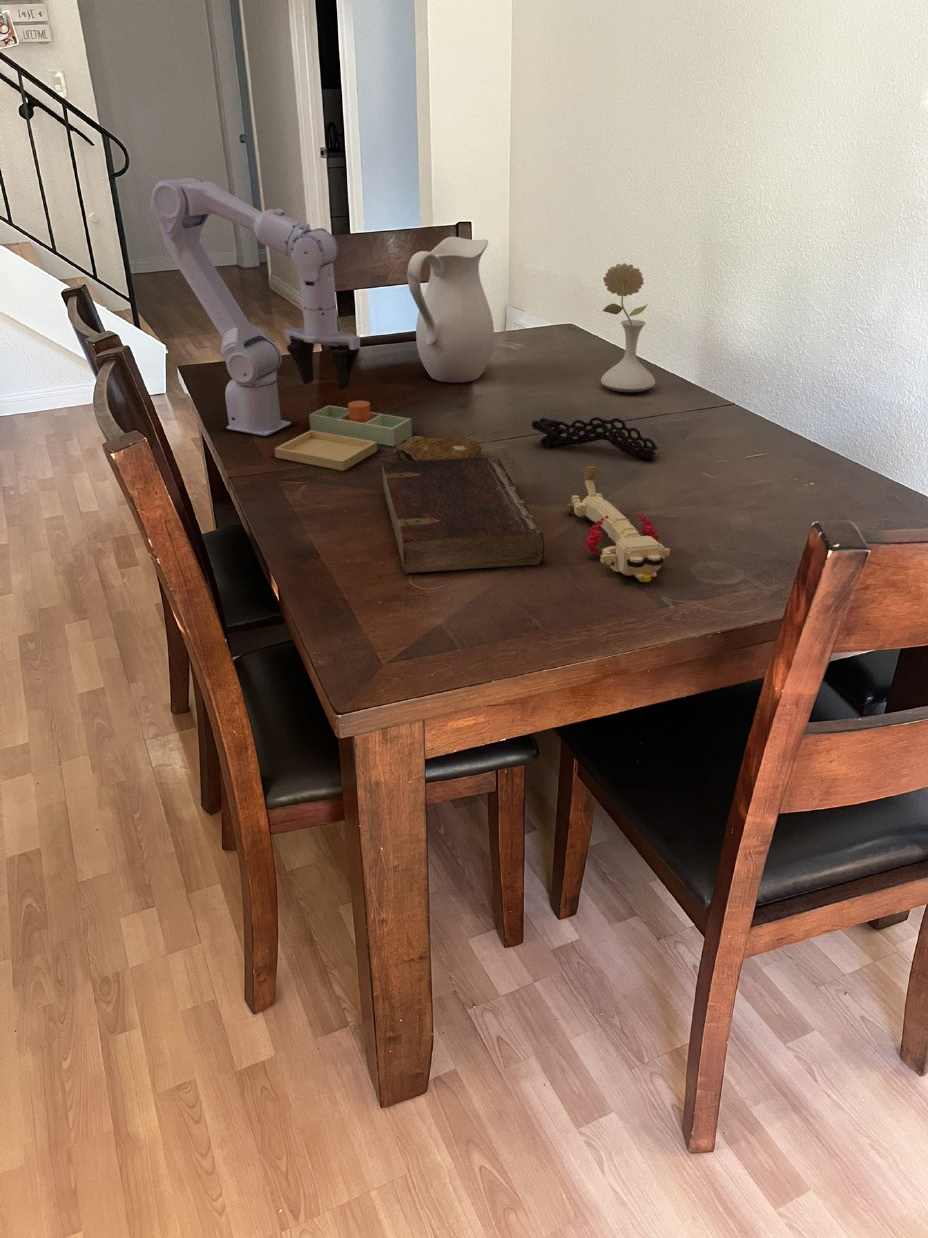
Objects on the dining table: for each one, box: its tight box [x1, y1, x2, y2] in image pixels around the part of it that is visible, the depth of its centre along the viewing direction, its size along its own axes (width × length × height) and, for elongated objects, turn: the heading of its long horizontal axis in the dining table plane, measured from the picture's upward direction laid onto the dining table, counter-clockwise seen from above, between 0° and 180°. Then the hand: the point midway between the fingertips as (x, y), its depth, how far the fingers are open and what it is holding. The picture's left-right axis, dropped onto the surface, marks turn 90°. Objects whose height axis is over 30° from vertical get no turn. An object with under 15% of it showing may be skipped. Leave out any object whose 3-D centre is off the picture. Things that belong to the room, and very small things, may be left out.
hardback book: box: [381, 456, 545, 574], centre depth 131 cm, size 29×19×5 cm, turn 10°
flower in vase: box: [600, 262, 656, 393], centre depth 185 cm, size 13×11×25 cm
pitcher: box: [406, 236, 495, 384], centre depth 190 cm, size 24×17×28 cm
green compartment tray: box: [308, 404, 413, 447], centre depth 166 cm, size 18×6×3 cm, turn 63°
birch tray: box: [274, 430, 378, 472], centre depth 157 cm, size 14×11×2 cm
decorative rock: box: [393, 435, 483, 461], centre depth 153 cm, size 11×4×15 cm
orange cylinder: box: [347, 400, 371, 423], centre depth 165 cm, size 4×4×5 cm
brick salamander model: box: [566, 465, 671, 583], centre depth 123 cm, size 10×9×25 cm
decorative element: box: [531, 416, 658, 461], centre depth 157 cm, size 22×5×6 cm, turn 66°
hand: (325, 385), depth 161 cm, fingers open, 7 cm apart
